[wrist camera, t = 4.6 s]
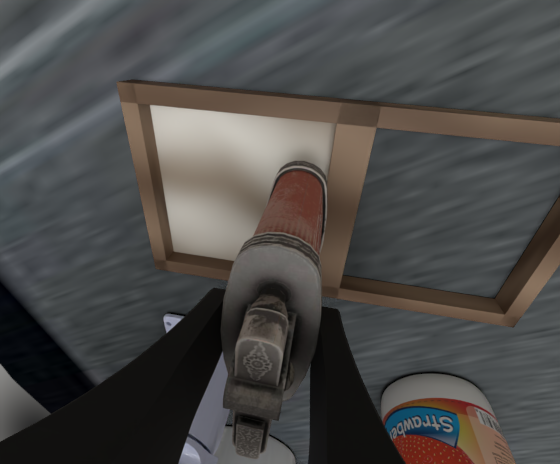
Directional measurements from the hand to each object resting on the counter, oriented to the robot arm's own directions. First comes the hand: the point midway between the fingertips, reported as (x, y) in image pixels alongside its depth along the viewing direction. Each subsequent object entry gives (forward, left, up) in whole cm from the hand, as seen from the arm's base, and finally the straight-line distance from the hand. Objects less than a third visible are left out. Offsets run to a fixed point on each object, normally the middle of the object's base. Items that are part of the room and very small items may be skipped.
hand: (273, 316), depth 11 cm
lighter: (0, 0, -7) cm, 7 cm away
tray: (0, -3, -10) cm, 10 cm away
